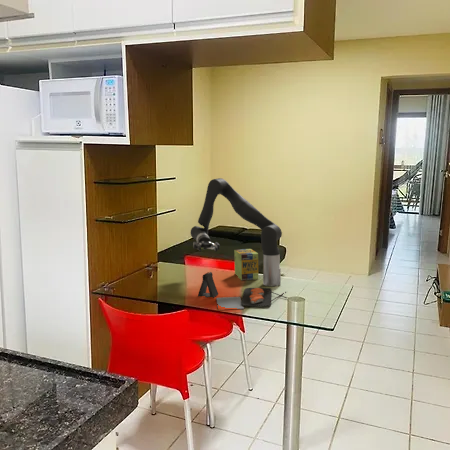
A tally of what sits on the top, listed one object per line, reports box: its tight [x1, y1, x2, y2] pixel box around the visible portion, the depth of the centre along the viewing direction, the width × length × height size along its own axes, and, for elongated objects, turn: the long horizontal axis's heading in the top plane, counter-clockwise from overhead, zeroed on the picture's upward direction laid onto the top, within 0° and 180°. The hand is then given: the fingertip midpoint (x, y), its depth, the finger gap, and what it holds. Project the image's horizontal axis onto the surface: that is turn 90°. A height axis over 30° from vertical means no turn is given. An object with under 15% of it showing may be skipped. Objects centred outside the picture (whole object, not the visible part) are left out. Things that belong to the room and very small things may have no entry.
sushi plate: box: [241, 287, 288, 307], centre depth 231 cm, size 29×30×4 cm
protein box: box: [233, 248, 259, 282], centre depth 273 cm, size 10×15×16 cm
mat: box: [215, 296, 245, 310], centre depth 224 cm, size 12×18×1 cm, turn 4°
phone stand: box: [197, 271, 219, 299], centre depth 238 cm, size 9×6×12 cm, turn 67°
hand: (208, 249), depth 246 cm, fingers open, 8 cm apart
